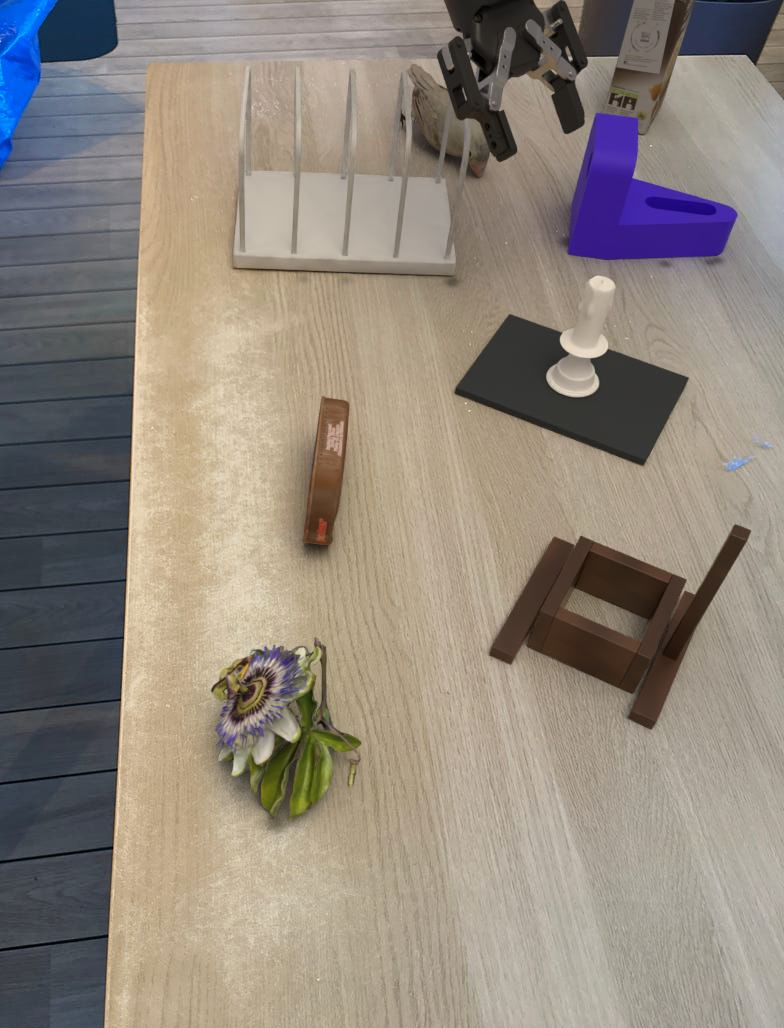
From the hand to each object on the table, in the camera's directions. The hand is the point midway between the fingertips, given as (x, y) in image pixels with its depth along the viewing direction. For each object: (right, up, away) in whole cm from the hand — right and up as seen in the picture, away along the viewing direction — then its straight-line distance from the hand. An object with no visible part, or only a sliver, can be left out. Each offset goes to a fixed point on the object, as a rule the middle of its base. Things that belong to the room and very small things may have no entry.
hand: (542, 143), depth 89 cm
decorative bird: (-4, +18, +39) cm, 43 cm away
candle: (+6, -18, +12) cm, 23 cm away
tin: (-20, -32, +2) cm, 38 cm away
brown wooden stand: (+3, -44, -6) cm, 45 cm away
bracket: (+19, +3, +28) cm, 34 cm away
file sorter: (-17, +4, +28) cm, 33 cm away
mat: (+6, -19, +12) cm, 23 cm away
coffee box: (+23, +26, +45) cm, 57 cm away
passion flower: (-23, -53, -13) cm, 59 cm away
